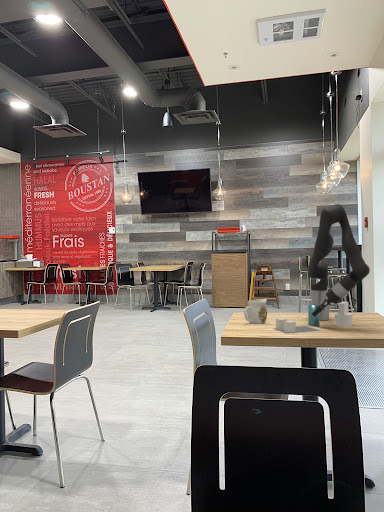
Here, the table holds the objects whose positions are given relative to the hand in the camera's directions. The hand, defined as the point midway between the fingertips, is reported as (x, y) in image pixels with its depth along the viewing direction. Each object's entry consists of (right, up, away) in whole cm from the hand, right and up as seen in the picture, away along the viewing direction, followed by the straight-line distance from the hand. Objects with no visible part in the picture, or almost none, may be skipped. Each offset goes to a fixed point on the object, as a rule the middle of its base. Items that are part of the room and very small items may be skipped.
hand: (314, 314), depth 222 cm
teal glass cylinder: (0, -7, 0) cm, 7 cm away
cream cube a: (-17, -6, -17) cm, 25 cm away
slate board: (-12, -8, -11) cm, 18 cm away
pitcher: (-29, -8, +11) cm, 32 cm away
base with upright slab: (+18, -7, +8) cm, 21 cm away
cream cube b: (-19, -6, -9) cm, 22 cm away
